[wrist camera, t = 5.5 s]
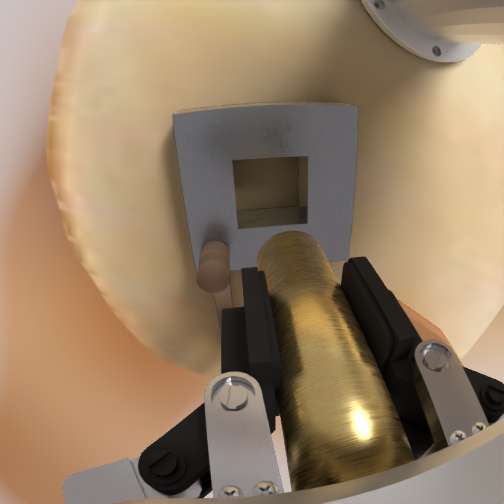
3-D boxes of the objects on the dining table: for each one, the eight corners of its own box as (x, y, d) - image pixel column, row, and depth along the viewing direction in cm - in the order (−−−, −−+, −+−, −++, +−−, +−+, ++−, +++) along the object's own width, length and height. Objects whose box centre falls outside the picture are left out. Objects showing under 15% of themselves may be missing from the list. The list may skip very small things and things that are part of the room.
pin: (255, 233, 12) (303, 518, 3) (324, 228, 12) (446, 473, 4) (258, 290, 14) (292, 531, 5) (320, 283, 14) (398, 505, 5)
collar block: (180, 110, 18) (172, 114, 16) (341, 102, 19) (358, 106, 16) (199, 251, 24) (196, 273, 22) (336, 240, 24) (347, 260, 22)
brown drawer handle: (201, 222, 23) (194, 267, 18) (228, 220, 23) (228, 264, 18) (223, 347, 30) (223, 396, 25) (242, 346, 30) (245, 395, 25)
